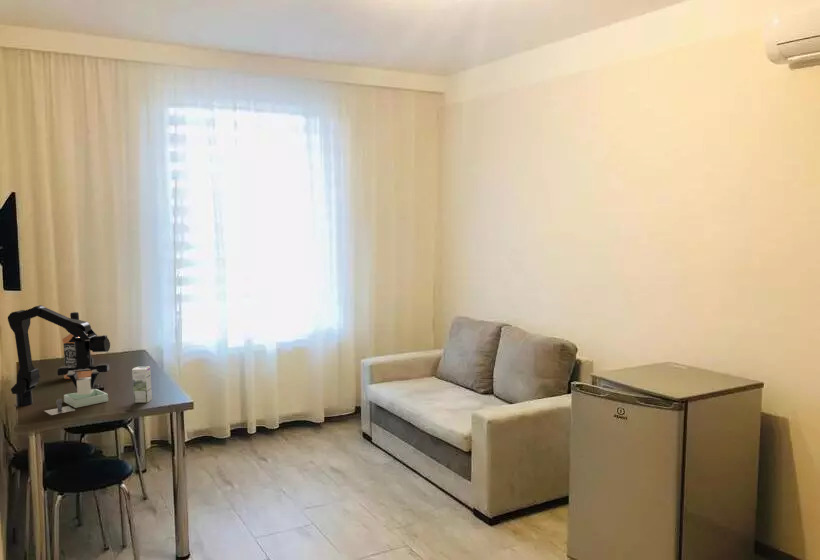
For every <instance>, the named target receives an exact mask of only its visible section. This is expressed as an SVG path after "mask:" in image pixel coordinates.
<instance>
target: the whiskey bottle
mask: <svg viewBox="0 0 820 560" xmlns="http://www.w3.org/2000/svg"><path fill="white" fill-rule="evenodd" d="M79 314H80V313H79V312H76V311H72V312H70V315H69V316H70V317H69V318H71V319H76V320H80V315H79ZM72 337H73V335H72V334H70V333H68V334H67V335H65V336H64V337H62V338H61V339H62V344H63V360H64V366H71V368H73V367H76V364H75V345H74V342H69V340H70V339H71V338H72ZM78 338H80V337H78ZM92 373H93V372H92V371H80V372H77V378H78V379H79V378H86V377H91V374H92ZM63 378H64V380H65V379H66V380H71V379H70V377H67V374H66V375H63Z"/></svg>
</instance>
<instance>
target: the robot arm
mask: <svg viewBox="0 0 820 560" xmlns="http://www.w3.org/2000/svg"><path fill="white" fill-rule="evenodd" d="M36 317H39V318H41V319H43V320H45V321H48V322H49V323H53V325H56V326H59V327H61V328H63V329H65V330H66V332H68V334H72V335H73V337H72V338H71V339H70V340H69V342H74V345H75V364H76V367H73V368H71V366H65V365H61V366H60V367H59V368H58V369H57V376H64V375H66V374H67V377H70V379H69V380H71V381H72V384H73V385H74V387H75V388H76V390H77V380H78V378H77V372H80V371H92V372H93V373H92V374H91V376H90V377H91V389H94V387H95V382H96V379H97V377H98V376H99V375H100V374H101V373H108V372H109V370H110V369H111V368H110V364H109V363H108V362H103V363H98V364H97V365H94V363H95V362H94V361H95V360H94V358H93V357H92V353H103V352H104V353H105V352H106V353H107V352H109V350H110V348H111V342H110V340H109V338H108V335H107V334H103V335H98V334H97V333H96V332H95V331H94V330H93V328H92V326H91V324H90V323H89V322H88V321H85V320H81V319H79V320H76V319H71V317H68V316H66V315H63V314H61V313H59V312H57V311H54V310H52V309H50V308H48V307H45V306H44V305H42V304H40V305H35V306H33V307H32V308H29V309H26V310H25V309H20V310H16V311H12V312H11V313H9V314H8V316H7V322H8V325H9V328H10V329H11V330H12V332H13V334H14V339H15V346H16V354H17V361H18V370H17V374H16V383H15V384H14V385H13V386H12V388H10V392H11V393H12V395H15V398H16V404H13V405H14V408H15V407H16V408H20V407H25V406H32V405H34V404H35V402H34V401H33V391H32V390H34V389H36V385H37V384H38V383H39V382H40V378H41V376H40V369H39V368H35V366H34V365H33V360H32V359H33V358H32V351H31V344H30V338H29V336H30V335H29V329H30V326H31V319H34V318H36ZM78 337H80V338H78ZM91 352H92V353H91Z"/></svg>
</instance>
